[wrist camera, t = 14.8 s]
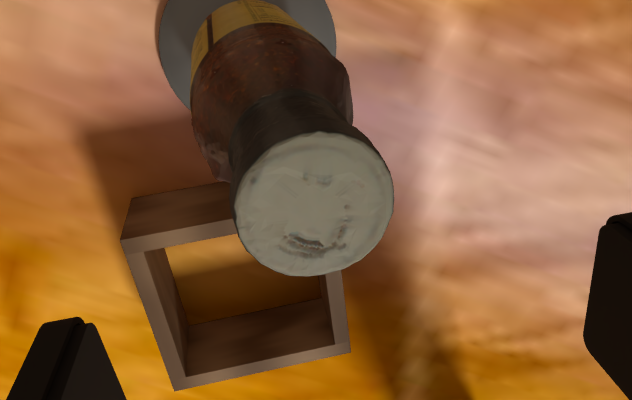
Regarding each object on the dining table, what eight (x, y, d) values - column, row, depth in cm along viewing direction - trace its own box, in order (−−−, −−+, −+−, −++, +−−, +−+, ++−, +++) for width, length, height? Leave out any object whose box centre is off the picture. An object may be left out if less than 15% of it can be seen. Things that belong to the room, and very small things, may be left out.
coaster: (324, -60, 28) (326, -60, 28) (342, 115, 33) (344, 117, 33) (137, -33, 27) (136, -33, 27) (183, 143, 32) (183, 146, 32)
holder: (317, 164, 34) (332, 199, 30) (336, 305, 40) (351, 352, 36) (131, 198, 33) (119, 240, 29) (178, 338, 39) (174, 391, 35)
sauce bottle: (246, 126, 32) (285, 367, 15) (168, 47, 29) (104, 232, 12) (328, 53, 31) (477, 223, 14) (256, -36, 28) (327, 34, 11)
